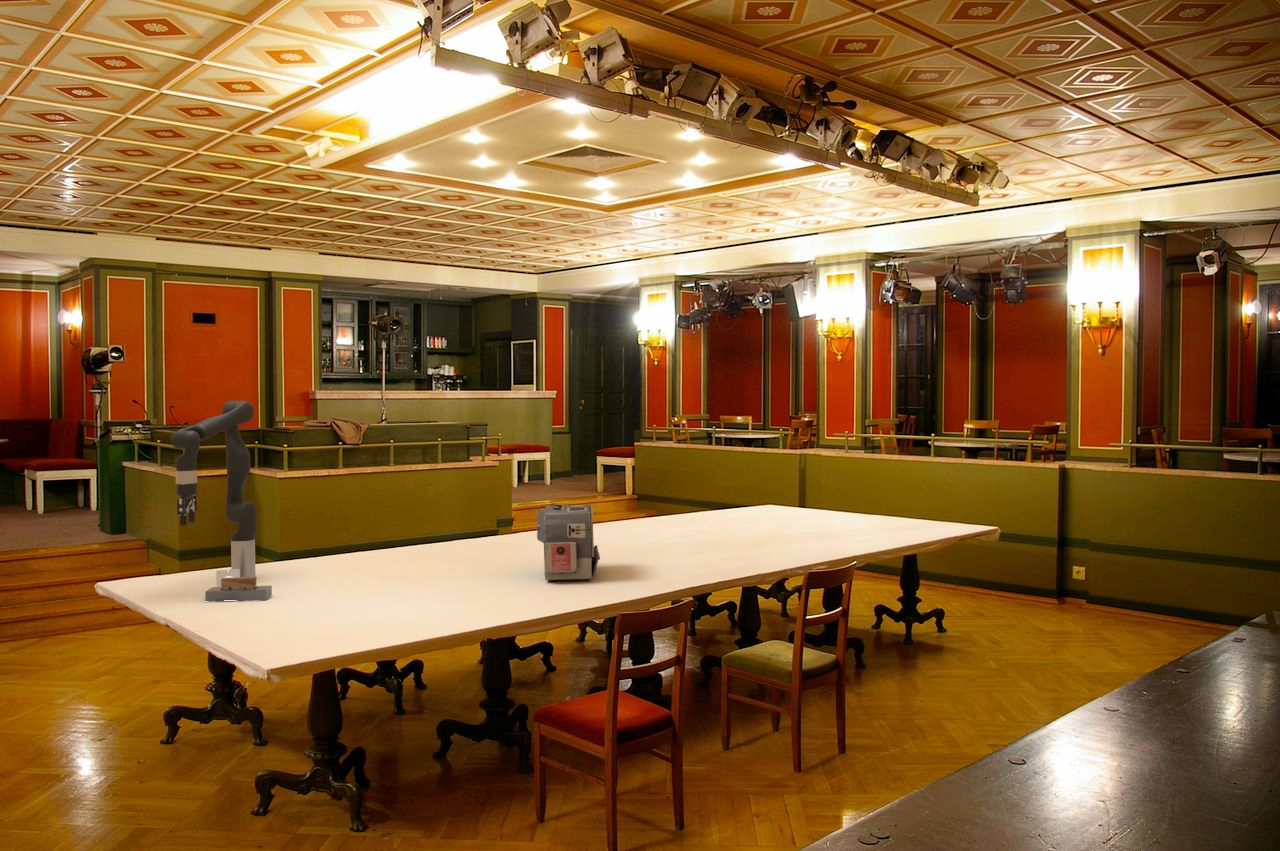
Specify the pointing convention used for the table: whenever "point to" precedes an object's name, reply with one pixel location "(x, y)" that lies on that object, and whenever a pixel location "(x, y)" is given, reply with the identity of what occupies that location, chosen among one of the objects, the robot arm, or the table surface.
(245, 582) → the brown u-shaped block
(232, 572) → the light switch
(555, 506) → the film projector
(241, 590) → the grey slotted holder
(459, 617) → the table surface
